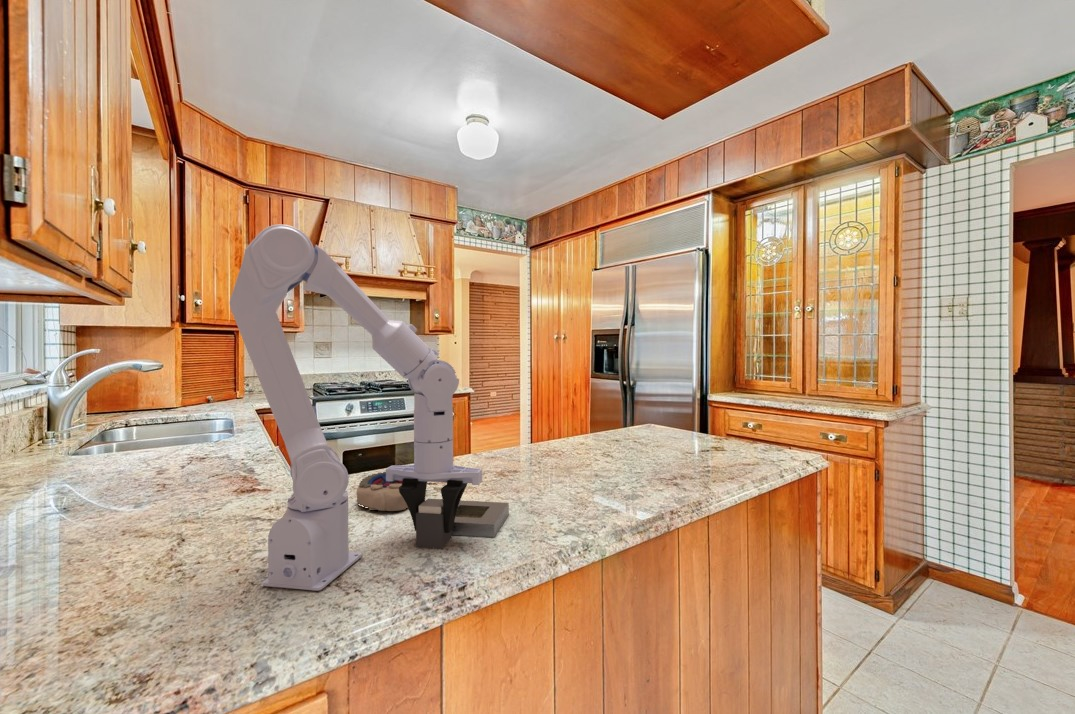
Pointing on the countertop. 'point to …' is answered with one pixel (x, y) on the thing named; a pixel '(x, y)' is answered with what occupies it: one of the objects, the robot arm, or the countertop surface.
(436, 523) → the plug
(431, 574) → the countertop surface
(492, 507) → the socket plate
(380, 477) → the anatomical model
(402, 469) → the robot arm
